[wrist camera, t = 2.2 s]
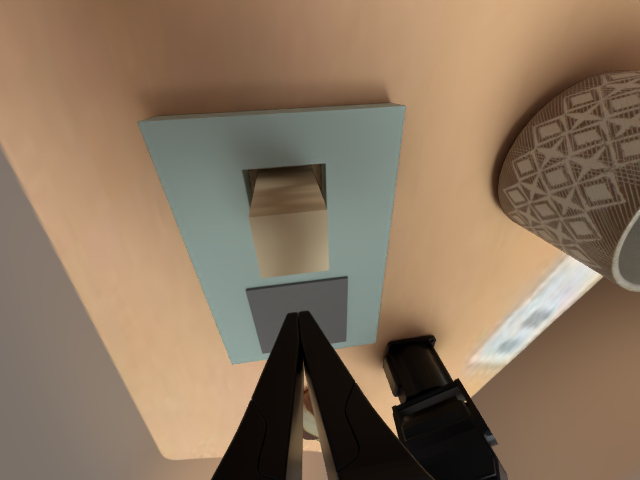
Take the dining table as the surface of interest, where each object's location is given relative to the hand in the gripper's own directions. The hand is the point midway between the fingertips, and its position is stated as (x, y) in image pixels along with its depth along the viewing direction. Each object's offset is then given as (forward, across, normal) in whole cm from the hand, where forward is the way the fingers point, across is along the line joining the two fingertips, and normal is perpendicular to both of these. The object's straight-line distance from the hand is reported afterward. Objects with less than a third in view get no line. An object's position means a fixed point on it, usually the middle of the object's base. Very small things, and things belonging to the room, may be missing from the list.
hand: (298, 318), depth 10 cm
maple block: (+13, 0, 0) cm, 13 cm away
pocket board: (+13, 0, +6) cm, 14 cm away
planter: (+13, -24, -1) cm, 27 cm away
